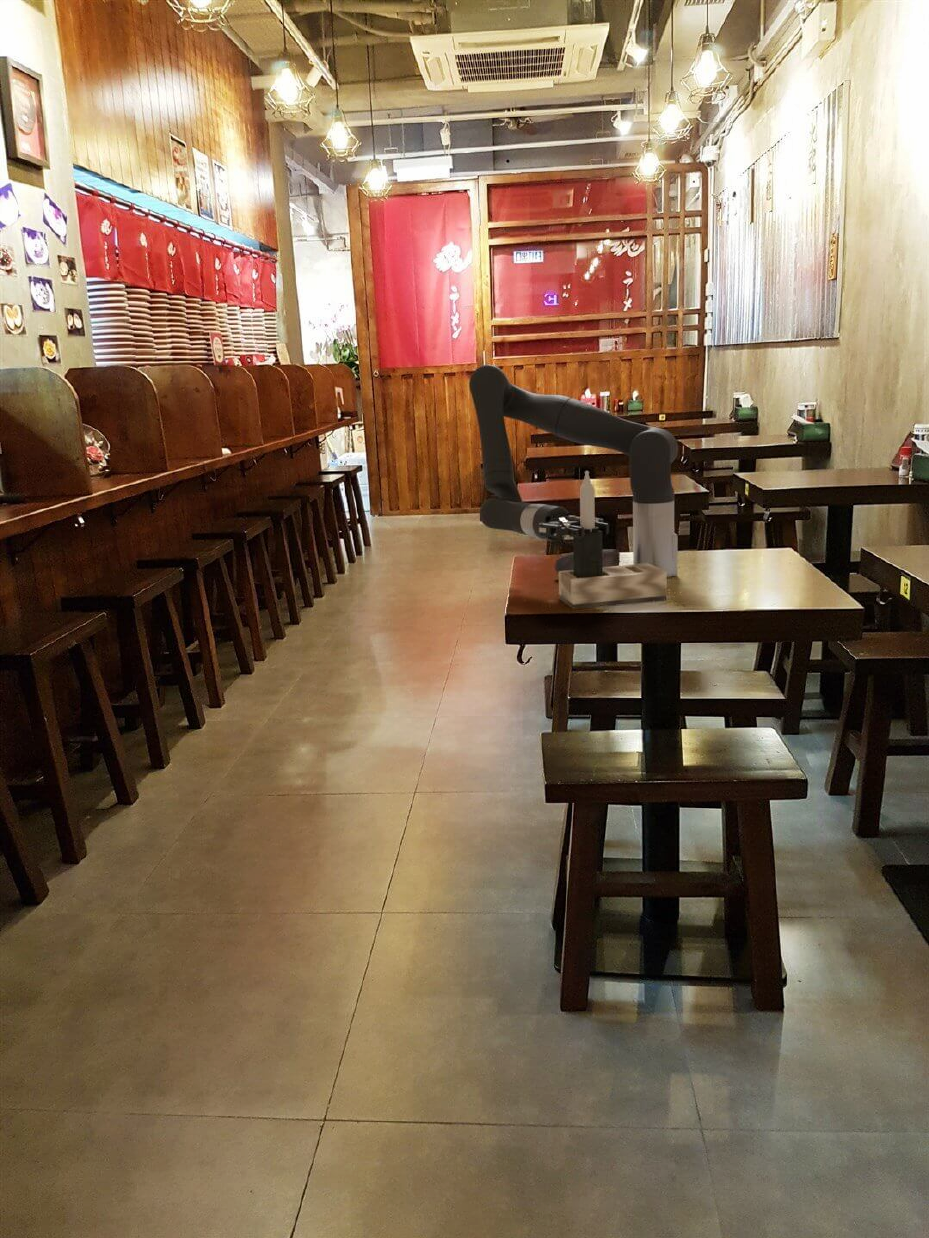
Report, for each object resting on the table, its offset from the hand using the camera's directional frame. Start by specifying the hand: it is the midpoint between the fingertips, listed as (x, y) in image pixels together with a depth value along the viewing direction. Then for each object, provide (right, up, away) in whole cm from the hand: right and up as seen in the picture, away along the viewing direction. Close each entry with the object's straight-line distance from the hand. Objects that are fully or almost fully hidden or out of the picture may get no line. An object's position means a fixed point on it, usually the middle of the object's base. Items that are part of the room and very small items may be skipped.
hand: (595, 531), depth 195 cm
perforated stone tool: (+2, -9, +28) cm, 30 cm away
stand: (+4, -14, +7) cm, 16 cm away
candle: (-1, -12, +5) cm, 13 cm away
